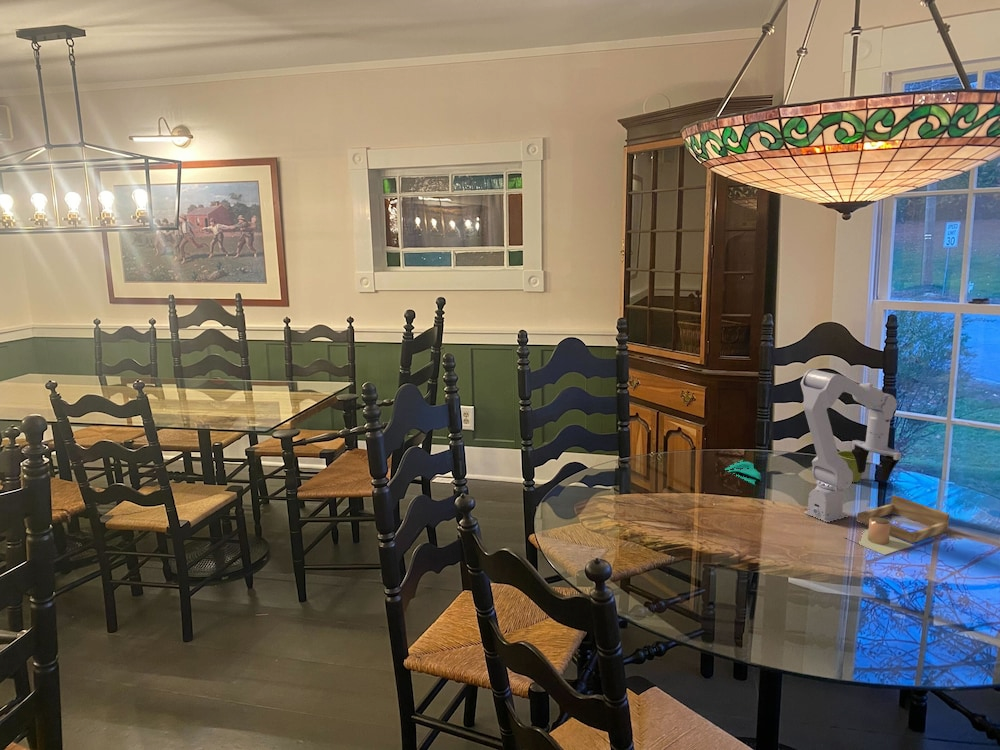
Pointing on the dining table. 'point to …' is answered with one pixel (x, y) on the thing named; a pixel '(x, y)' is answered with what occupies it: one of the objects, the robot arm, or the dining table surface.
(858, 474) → the plant pot
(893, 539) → the potting mat
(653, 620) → the dining table surface
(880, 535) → the terracotta pot
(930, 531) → the cold frame
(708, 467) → the dining table surface
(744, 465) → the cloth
